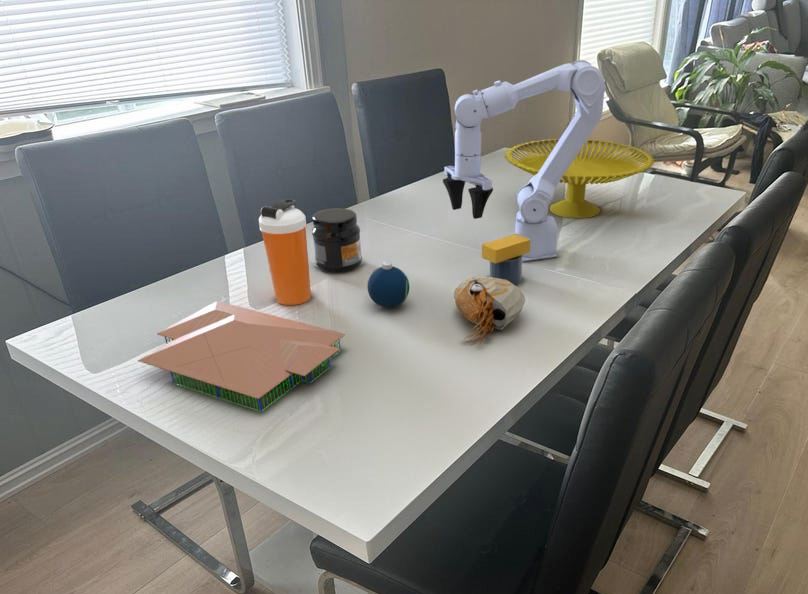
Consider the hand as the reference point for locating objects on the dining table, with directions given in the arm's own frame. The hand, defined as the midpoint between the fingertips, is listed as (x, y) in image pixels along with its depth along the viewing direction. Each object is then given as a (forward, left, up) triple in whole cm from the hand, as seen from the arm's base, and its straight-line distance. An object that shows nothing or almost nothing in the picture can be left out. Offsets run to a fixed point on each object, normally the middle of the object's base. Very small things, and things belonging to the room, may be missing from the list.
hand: (467, 213), depth 159 cm
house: (+53, +34, -11) cm, 64 cm away
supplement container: (+30, -4, -11) cm, 32 cm away
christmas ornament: (+24, +20, -11) cm, 33 cm away
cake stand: (-39, -22, -11) cm, 46 cm away
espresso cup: (-3, +16, -10) cm, 19 cm away
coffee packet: (-3, +16, -4) cm, 17 cm away
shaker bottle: (+42, +10, -11) cm, 44 cm away
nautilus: (+9, +34, -11) cm, 37 cm away
